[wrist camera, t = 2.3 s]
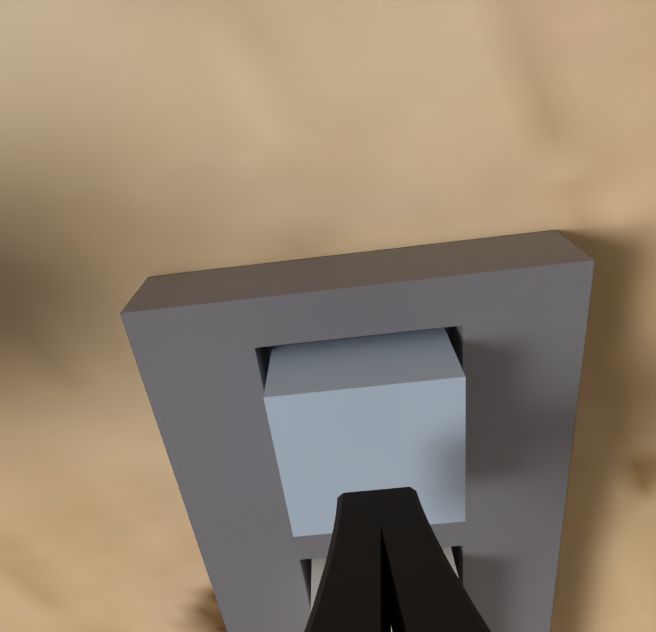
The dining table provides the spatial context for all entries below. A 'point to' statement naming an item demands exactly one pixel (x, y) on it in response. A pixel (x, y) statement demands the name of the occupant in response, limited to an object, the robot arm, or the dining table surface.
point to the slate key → (368, 423)
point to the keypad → (360, 321)
